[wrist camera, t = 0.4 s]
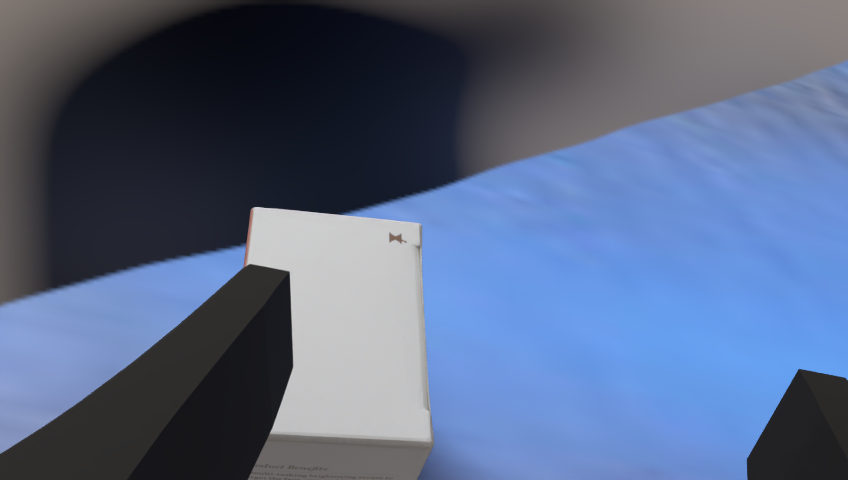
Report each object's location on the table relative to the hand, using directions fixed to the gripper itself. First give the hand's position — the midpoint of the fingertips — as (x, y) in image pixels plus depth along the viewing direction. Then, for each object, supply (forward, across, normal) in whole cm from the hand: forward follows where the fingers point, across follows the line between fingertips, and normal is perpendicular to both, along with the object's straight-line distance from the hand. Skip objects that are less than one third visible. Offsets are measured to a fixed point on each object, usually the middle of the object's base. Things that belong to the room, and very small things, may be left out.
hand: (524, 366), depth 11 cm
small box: (+9, +7, +18) cm, 21 cm away
